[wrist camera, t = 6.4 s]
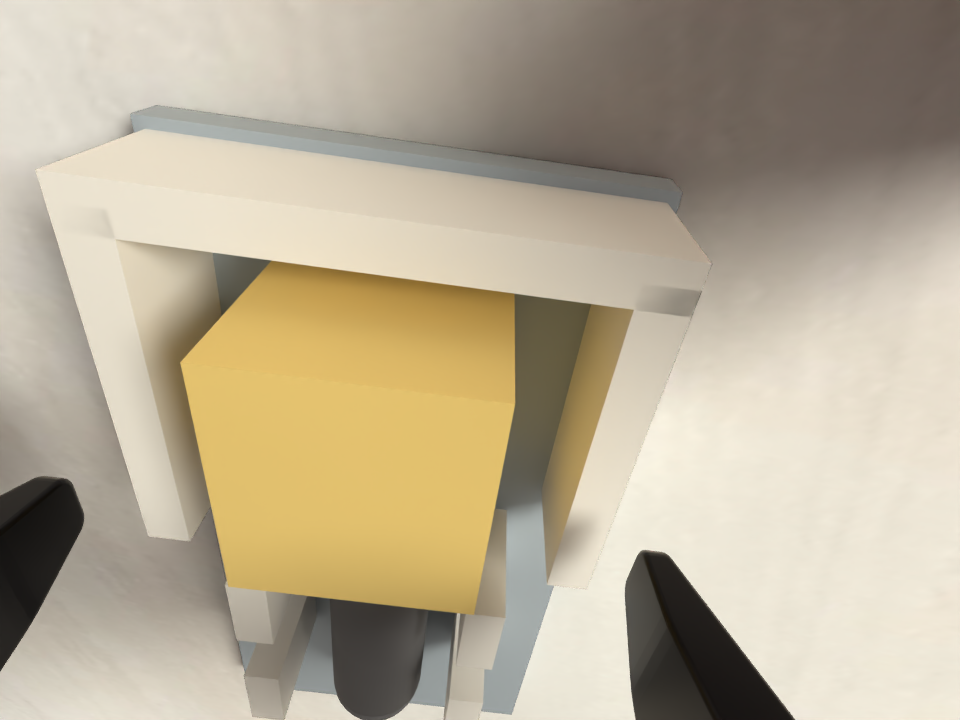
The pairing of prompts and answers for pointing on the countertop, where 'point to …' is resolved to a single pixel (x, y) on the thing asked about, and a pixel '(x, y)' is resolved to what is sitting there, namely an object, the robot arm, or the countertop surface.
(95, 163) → the board
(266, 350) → the cable
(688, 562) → the countertop surface
